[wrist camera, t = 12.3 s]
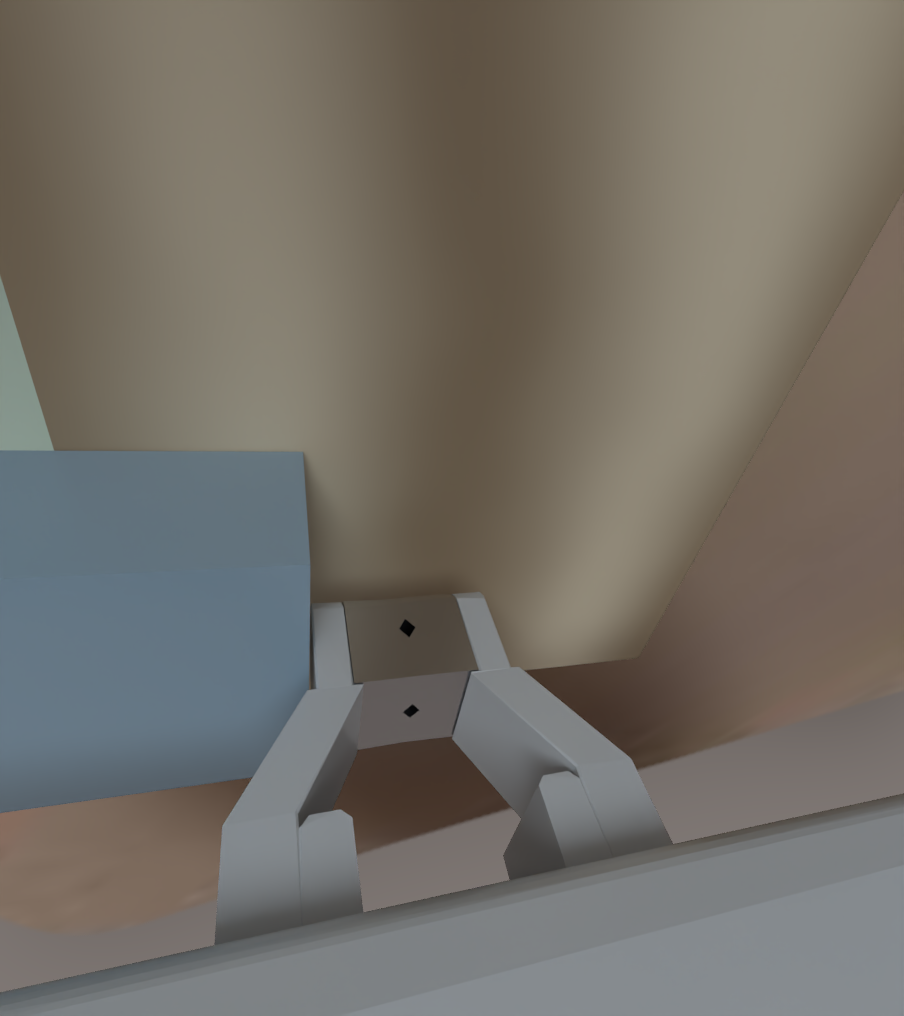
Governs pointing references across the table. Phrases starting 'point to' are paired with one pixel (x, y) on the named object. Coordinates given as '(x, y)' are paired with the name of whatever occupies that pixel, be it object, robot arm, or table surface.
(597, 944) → the robot arm
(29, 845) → the table surface
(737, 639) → the table surface
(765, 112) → the beige shallow box
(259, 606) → the tile
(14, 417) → the tray
